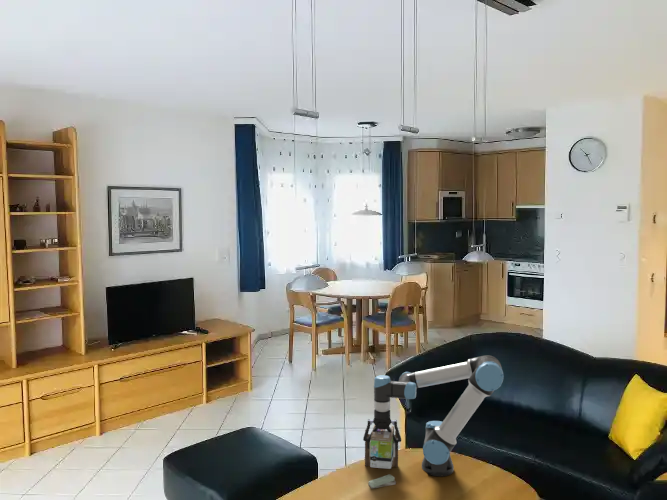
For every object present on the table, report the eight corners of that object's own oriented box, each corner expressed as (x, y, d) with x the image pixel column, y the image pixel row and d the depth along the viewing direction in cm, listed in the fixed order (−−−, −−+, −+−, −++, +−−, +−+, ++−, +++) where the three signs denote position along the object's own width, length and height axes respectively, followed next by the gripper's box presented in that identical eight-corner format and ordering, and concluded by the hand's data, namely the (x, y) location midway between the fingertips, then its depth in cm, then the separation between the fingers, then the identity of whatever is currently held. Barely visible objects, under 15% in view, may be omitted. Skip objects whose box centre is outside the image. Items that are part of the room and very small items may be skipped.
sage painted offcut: (389, 477, 255) (389, 474, 255) (394, 480, 252) (394, 477, 252) (368, 484, 248) (368, 481, 248) (373, 487, 245) (373, 484, 245)
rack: (397, 466, 270) (398, 430, 269) (397, 468, 268) (398, 432, 267) (364, 465, 271) (365, 429, 270) (364, 467, 269) (365, 431, 268)
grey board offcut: (392, 481, 254) (392, 477, 254) (395, 484, 251) (395, 481, 251) (368, 485, 250) (368, 482, 250) (371, 489, 247) (371, 485, 247)
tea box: (391, 469, 251) (391, 437, 250) (369, 467, 253) (369, 436, 252) (394, 455, 266) (394, 425, 265) (373, 453, 268) (373, 423, 267)
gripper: (406, 406, 261) (406, 452, 262) (357, 405, 263) (358, 451, 264) (407, 412, 253) (407, 459, 255) (357, 411, 255) (357, 458, 257)
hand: (382, 455), depth 259 cm, fingers closed on tea box, 10 cm apart
